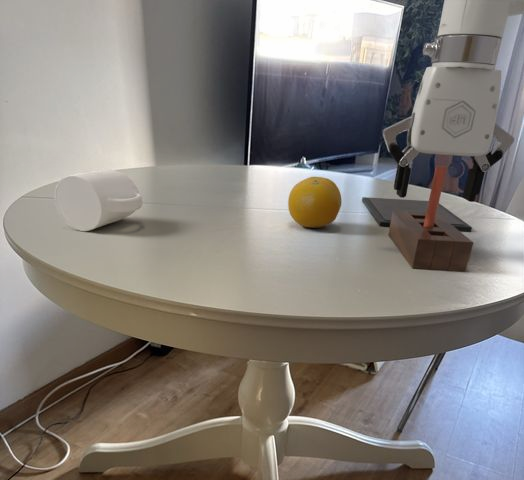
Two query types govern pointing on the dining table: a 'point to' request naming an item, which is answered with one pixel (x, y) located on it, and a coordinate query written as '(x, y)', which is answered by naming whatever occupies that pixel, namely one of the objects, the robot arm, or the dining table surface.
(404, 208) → the tablet
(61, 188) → the mug
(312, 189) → the fruit
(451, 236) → the pen stand
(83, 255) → the dining table surface
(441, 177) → the stylus
